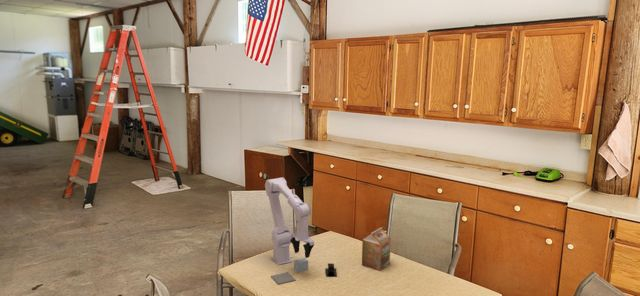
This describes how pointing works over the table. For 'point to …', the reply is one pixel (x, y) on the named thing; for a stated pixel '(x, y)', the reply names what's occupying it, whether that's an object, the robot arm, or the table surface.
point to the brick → (300, 265)
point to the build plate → (331, 271)
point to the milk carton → (376, 250)
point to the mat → (283, 278)
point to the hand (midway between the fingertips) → (302, 254)
